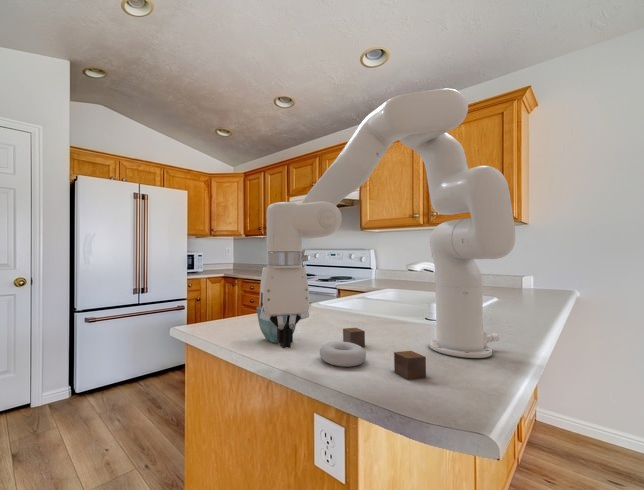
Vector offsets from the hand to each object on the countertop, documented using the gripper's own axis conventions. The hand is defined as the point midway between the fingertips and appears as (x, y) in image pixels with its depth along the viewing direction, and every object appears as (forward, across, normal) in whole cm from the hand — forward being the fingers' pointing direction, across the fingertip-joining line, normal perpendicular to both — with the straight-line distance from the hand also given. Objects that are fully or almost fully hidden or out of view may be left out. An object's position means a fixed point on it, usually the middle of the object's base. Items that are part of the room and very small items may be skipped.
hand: (284, 346), depth 68 cm
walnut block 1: (+4, -22, -10) cm, 25 cm away
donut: (+4, -13, 0) cm, 14 cm away
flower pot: (+4, -4, -20) cm, 21 cm away
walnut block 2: (+4, -22, +10) cm, 25 cm away
